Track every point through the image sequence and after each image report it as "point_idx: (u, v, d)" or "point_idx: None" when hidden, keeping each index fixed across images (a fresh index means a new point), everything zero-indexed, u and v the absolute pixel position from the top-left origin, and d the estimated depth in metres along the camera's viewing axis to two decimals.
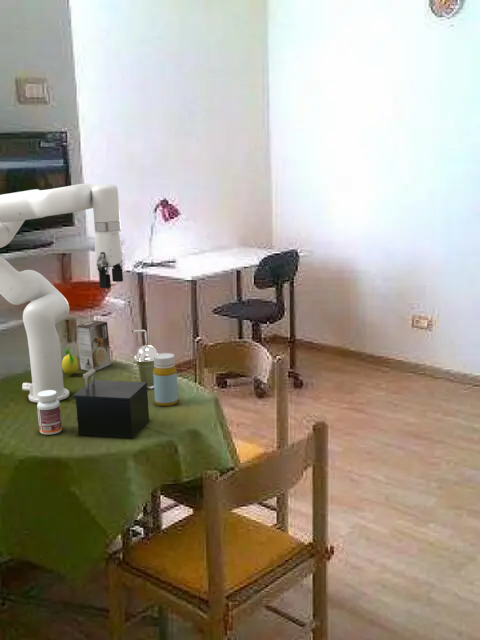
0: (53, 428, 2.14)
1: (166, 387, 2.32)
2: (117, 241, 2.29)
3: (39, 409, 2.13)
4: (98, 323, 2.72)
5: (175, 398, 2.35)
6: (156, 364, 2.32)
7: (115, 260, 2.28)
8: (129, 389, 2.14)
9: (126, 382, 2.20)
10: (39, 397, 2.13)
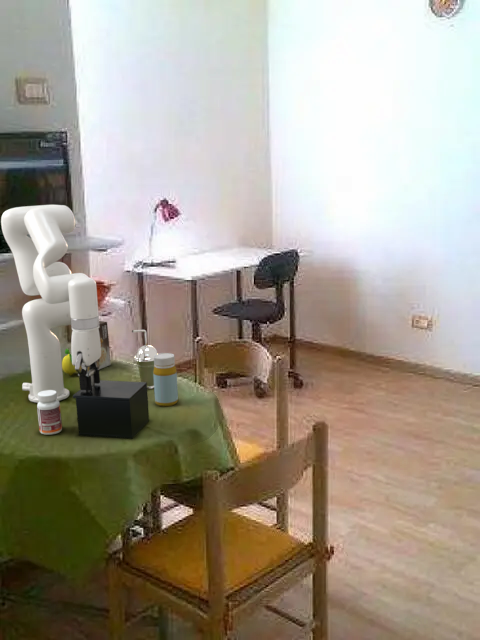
0: (53, 428, 2.14)
1: (166, 387, 2.32)
2: (95, 337, 2.13)
3: (39, 409, 2.13)
4: None
5: (175, 398, 2.35)
6: (156, 364, 2.32)
7: (93, 358, 2.13)
8: (129, 389, 2.14)
9: (126, 382, 2.20)
10: (39, 397, 2.13)
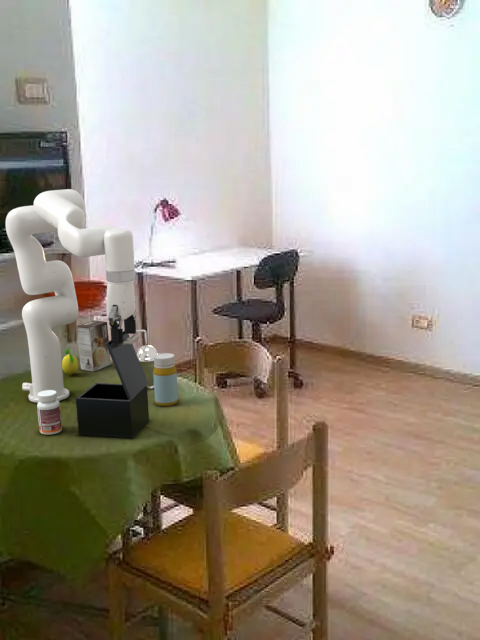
0: (53, 428, 2.14)
1: (166, 387, 2.32)
2: (131, 291, 2.08)
3: (39, 409, 2.13)
4: (98, 323, 2.72)
5: (175, 398, 2.35)
6: (156, 364, 2.32)
7: (128, 312, 2.08)
8: (136, 382, 2.13)
9: (139, 365, 2.18)
10: (39, 397, 2.13)
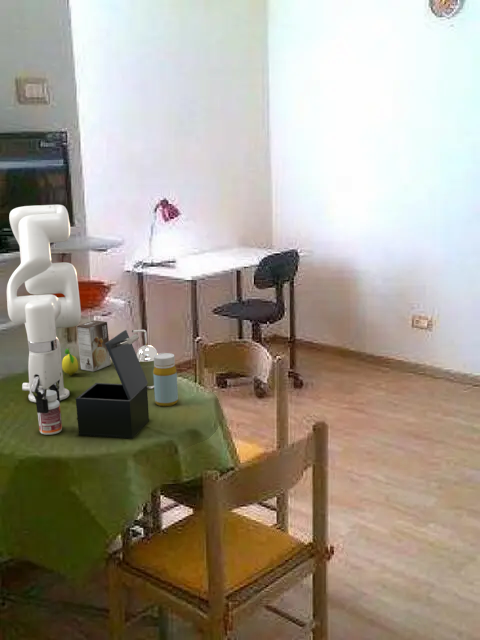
0: (53, 428, 2.14)
1: (166, 387, 2.32)
2: (53, 360, 2.12)
3: None
4: (98, 323, 2.72)
5: (175, 398, 2.35)
6: (156, 364, 2.32)
7: (51, 381, 2.12)
8: (136, 382, 2.13)
9: (139, 365, 2.18)
10: None
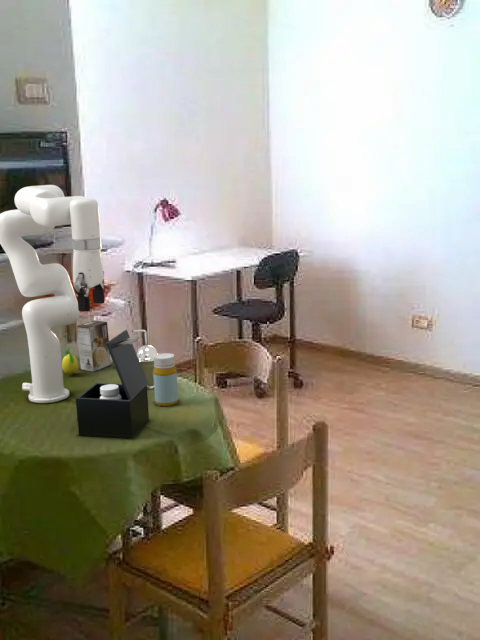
0: None
1: (166, 387, 2.32)
2: (97, 260, 2.10)
3: None
4: (98, 323, 2.72)
5: (175, 398, 2.35)
6: (156, 364, 2.32)
7: (95, 281, 2.10)
8: (136, 382, 2.13)
9: (139, 365, 2.18)
10: (102, 391, 2.14)
